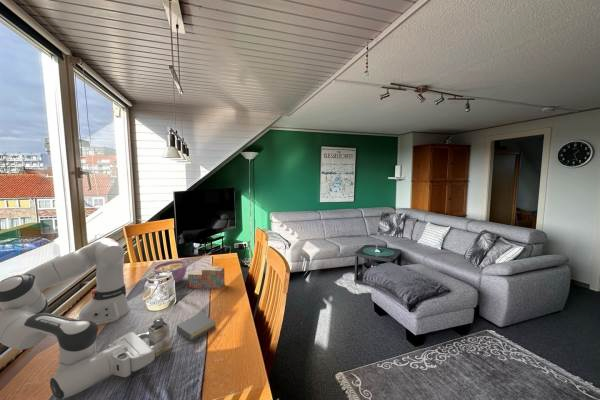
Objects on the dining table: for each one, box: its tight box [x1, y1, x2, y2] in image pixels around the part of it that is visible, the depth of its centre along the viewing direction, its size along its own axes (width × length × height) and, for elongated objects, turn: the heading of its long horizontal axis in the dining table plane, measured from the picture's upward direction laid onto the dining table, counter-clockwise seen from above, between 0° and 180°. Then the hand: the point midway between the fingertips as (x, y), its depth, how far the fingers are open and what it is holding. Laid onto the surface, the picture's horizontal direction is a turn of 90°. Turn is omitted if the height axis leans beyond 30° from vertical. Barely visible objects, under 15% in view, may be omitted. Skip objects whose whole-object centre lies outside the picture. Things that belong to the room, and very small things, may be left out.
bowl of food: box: [153, 260, 188, 284], centre depth 164 cm, size 20×20×12 cm
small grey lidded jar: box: [147, 319, 172, 358], centre depth 101 cm, size 6×6×10 cm
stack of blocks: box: [187, 266, 226, 290], centre depth 158 cm, size 21×6×12 cm, turn 86°
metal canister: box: [153, 317, 164, 330], centre depth 100 cm, size 3×3×3 cm
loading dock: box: [176, 312, 217, 342], centre depth 114 cm, size 12×12×3 cm
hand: (156, 337), depth 99 cm, fingers open, 8 cm apart
